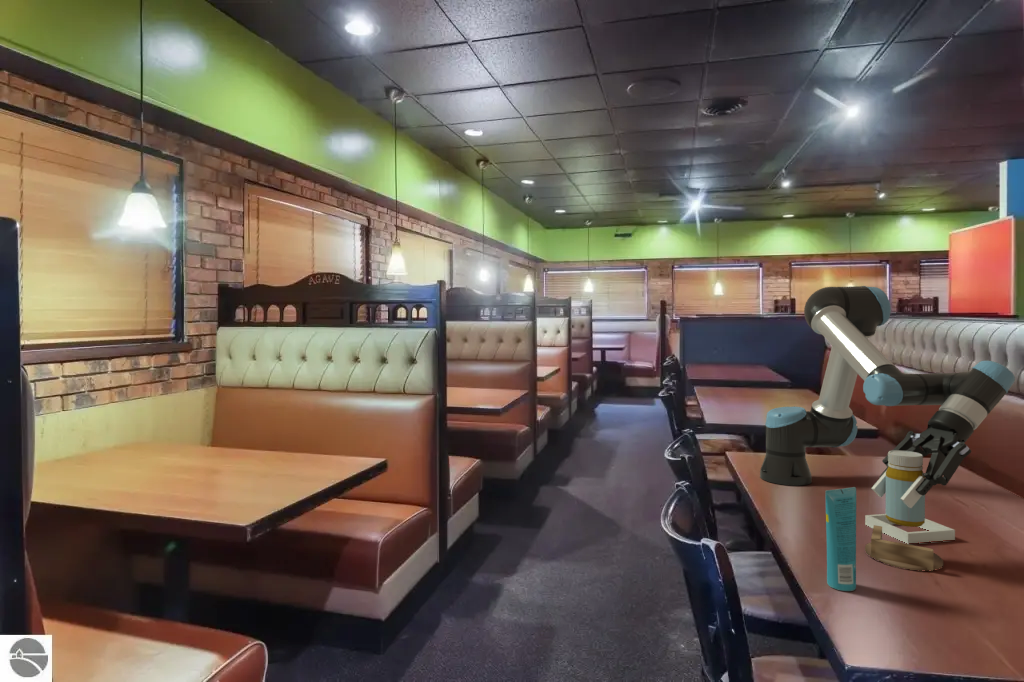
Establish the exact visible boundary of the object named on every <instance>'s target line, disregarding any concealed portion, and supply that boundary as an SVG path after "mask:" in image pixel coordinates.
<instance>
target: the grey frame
mask: <svg viewBox="0 0 1024 682" xmlns="http://www.w3.org/2000/svg"><path fill="white" fill-rule="evenodd" d="M864 517H865V520H864V523H865V524H864V525H865V526H866V525H867V526H866V527H868V526H869V527H868V528H871V529H873V527H874V525H876V526H882V534H884V533H885V534H884V535H886V534H887V535H886V536H888V535H889V536H888V537H890V536H891V538H893V537H894V538H893V539H895V538H896V539H895V540H897V539H898V540H897V541H899V540H900V541H899V542H901V541H903V542H902V543H904V542H905V543H904V544H906V543H907V544H909V543H918V542H919V544H921V543H920V542H929V541H930V542H931V541H943V540H955V541H956V529H954V528H951V527H949V526H946V525H943V524H941V523H938V522H936V521H934V520H930V519H927V518H925V523H924V524H923V525H922V526H919V527H920V529H922V528H923V529H922V530H920V531H906V530H904V529H902V528H899V527H897V526H894V525H896V524H895V523H892V522H890V521H889V520H888V519H887V518H886V514H885V513H882V514H881V513H880V514H879V513H878V514H866V515H864ZM919 527H918V528H919ZM924 529H926V530H924ZM927 530H929V531H927ZM943 542H944V541H943ZM931 543H932V542H931ZM909 545H910V544H909Z"/></svg>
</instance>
